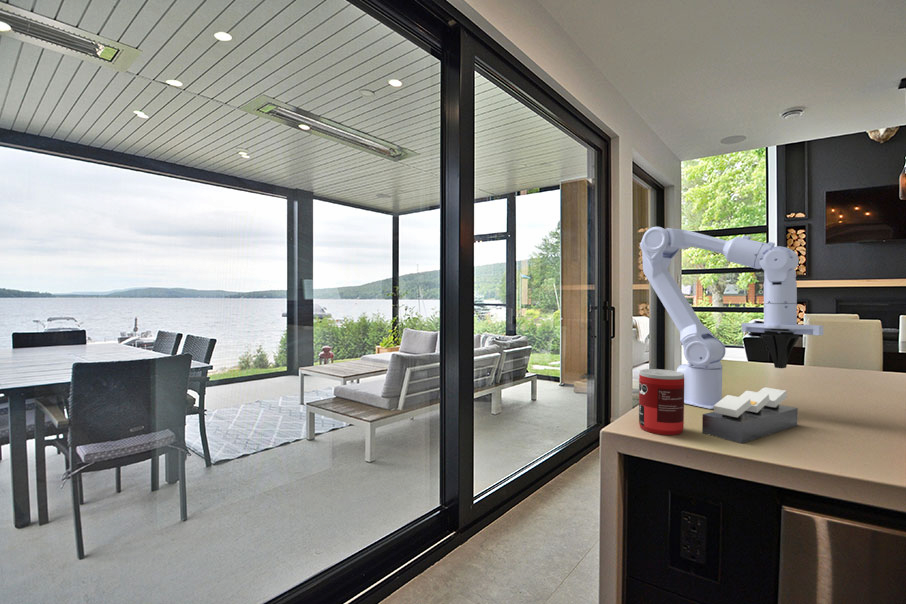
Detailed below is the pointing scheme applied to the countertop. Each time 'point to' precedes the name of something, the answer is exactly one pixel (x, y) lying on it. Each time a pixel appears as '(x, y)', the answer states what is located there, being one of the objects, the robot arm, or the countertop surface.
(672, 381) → the canned food
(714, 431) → the switch box
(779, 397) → the rocker far
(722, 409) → the rocker near
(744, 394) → the rocker mid
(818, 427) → the countertop surface
